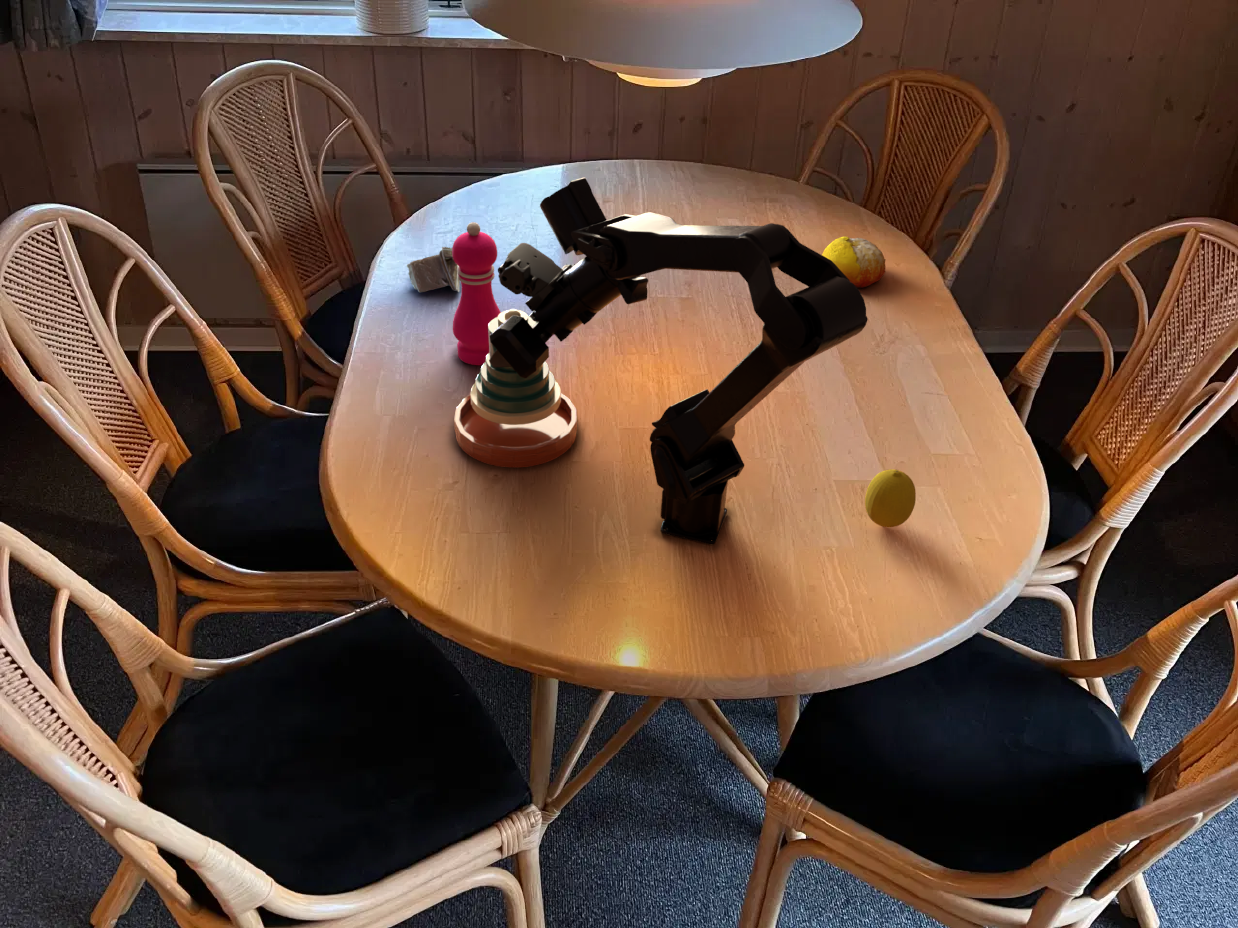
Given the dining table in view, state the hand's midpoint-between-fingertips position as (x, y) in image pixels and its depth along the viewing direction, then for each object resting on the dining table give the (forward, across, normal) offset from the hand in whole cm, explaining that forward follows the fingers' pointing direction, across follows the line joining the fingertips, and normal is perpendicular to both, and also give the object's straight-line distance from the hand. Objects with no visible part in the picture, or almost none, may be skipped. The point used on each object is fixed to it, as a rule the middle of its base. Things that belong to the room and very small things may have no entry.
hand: (504, 351), depth 128 cm
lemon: (-25, -1, +43) cm, 50 cm away
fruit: (-13, -63, +30) cm, 71 cm away
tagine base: (+7, 0, +9) cm, 12 cm away
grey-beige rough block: (+27, -44, -21) cm, 56 cm away
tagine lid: (+4, 0, +6) cm, 7 cm away
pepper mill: (+17, -15, 0) cm, 23 cm away
